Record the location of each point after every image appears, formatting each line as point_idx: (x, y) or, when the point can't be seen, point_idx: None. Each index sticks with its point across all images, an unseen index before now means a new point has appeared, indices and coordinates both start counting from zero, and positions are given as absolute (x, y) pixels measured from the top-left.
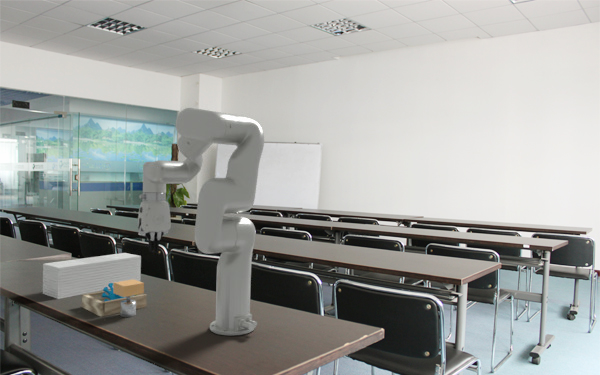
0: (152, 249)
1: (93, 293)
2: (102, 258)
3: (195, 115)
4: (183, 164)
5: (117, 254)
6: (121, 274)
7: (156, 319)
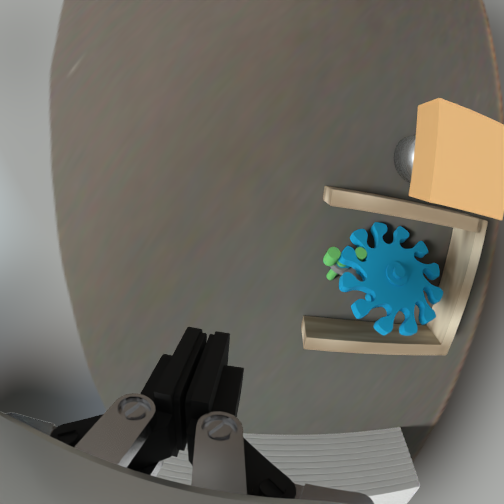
0: (224, 365)
1: (424, 346)
2: None
3: None
4: None
5: None
6: None
7: (382, 53)
